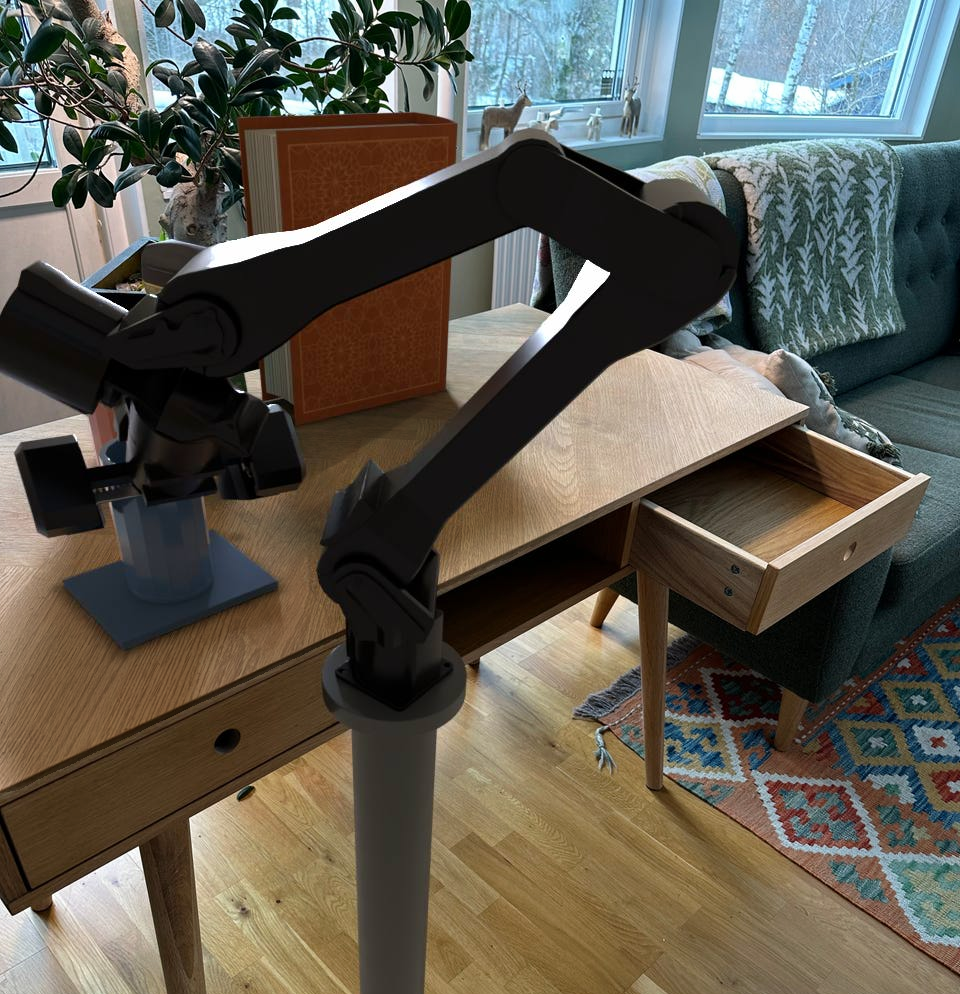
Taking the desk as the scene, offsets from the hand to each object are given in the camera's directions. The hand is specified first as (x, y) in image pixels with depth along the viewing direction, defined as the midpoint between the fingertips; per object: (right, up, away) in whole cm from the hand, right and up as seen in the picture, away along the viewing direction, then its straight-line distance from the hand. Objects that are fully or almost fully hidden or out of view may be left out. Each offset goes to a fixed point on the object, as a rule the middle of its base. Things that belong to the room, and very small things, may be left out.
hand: (160, 503), depth 70 cm
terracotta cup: (-11, +8, +22) cm, 26 cm away
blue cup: (-1, -6, +5) cm, 8 cm away
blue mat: (-1, -6, +5) cm, 8 cm away
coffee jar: (-7, +16, +34) cm, 38 cm away
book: (+10, +20, +41) cm, 47 cm away
